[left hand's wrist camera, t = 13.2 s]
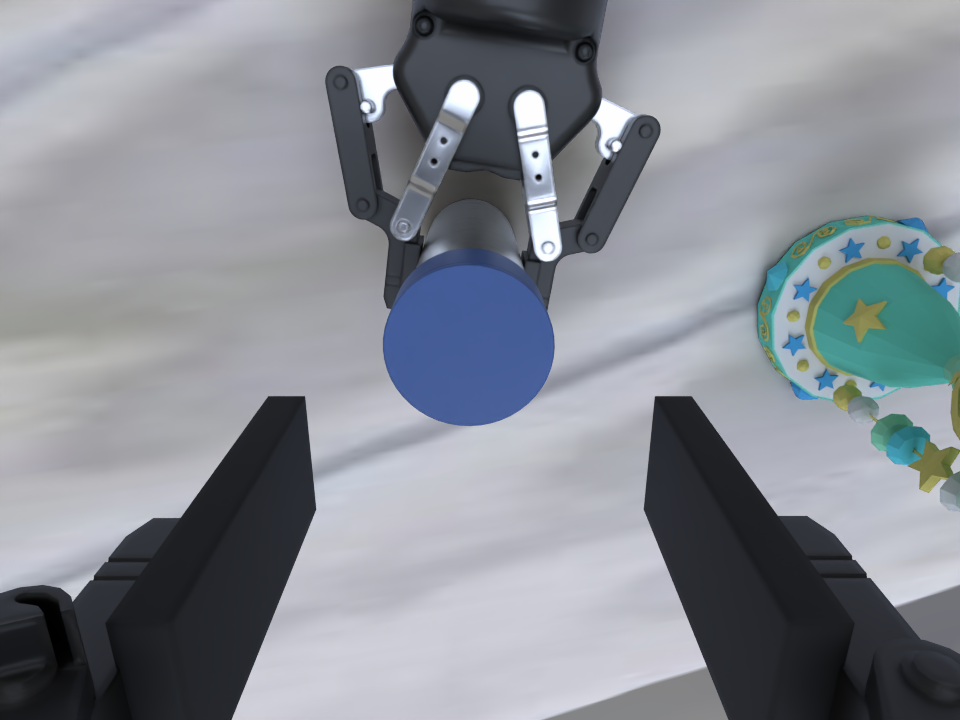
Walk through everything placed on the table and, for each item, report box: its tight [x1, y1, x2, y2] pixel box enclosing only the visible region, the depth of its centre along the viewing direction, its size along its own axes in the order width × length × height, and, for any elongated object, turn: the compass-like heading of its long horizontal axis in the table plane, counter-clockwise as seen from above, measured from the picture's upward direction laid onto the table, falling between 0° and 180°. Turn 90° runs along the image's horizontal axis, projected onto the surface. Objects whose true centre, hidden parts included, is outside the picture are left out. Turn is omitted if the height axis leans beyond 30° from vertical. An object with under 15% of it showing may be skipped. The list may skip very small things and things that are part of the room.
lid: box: [383, 248, 554, 426], centre depth 22 cm, size 5×5×2 cm
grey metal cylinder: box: [416, 199, 524, 270], centre depth 29 cm, size 5×5×16 cm
